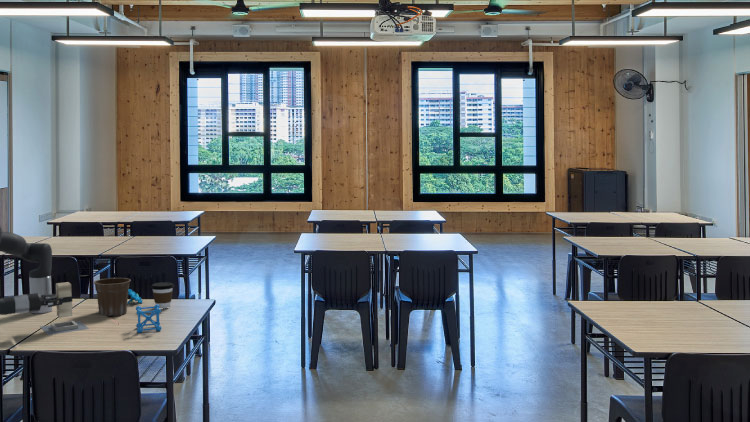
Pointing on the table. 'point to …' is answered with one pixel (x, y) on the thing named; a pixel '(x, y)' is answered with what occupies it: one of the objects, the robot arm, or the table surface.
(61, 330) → the puzzle board
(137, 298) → the gear
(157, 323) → the molecular structure
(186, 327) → the table surface
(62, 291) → the maple block
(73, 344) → the table surface
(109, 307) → the plant pot
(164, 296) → the coffee cup
